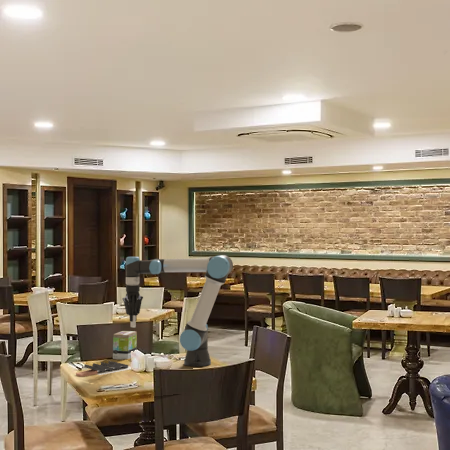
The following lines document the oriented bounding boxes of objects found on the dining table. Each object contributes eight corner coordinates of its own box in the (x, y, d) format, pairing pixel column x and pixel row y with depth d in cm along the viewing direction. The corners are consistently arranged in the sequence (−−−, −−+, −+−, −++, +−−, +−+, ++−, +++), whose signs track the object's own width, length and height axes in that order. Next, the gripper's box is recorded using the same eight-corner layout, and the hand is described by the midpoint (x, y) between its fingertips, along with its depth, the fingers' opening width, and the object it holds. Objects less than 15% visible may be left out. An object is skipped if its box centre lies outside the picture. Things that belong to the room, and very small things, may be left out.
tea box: (128, 360, 406) (128, 334, 406) (112, 359, 408) (112, 334, 408) (137, 355, 420) (137, 330, 420) (121, 354, 422) (121, 330, 422)
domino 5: (128, 365, 380) (114, 361, 374) (127, 368, 380) (113, 364, 373) (122, 363, 384) (108, 360, 377) (122, 366, 383) (108, 363, 377)
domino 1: (97, 370, 366) (81, 374, 359) (97, 373, 366) (81, 377, 359) (92, 369, 369) (75, 373, 362) (92, 372, 369) (76, 376, 362)
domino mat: (136, 369, 380) (136, 368, 380) (99, 375, 363) (99, 374, 363) (123, 365, 388) (123, 365, 388) (86, 372, 371) (86, 371, 371)
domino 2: (105, 369, 369) (90, 365, 363) (104, 372, 369) (89, 368, 362) (99, 367, 373) (84, 364, 366) (98, 370, 372) (83, 367, 366)
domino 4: (121, 366, 377) (106, 363, 370) (120, 369, 376) (105, 366, 370) (115, 365, 380) (101, 361, 373) (114, 368, 380) (100, 364, 373)
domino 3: (113, 367, 373) (98, 364, 366) (112, 370, 373) (97, 367, 366) (107, 366, 376) (93, 363, 370) (106, 369, 376) (92, 366, 369)
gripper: (127, 285, 378) (127, 329, 378) (146, 284, 388) (146, 326, 388) (119, 285, 383) (119, 327, 383) (137, 283, 393) (138, 325, 393)
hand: (133, 327), depth 385 cm, fingers closed
